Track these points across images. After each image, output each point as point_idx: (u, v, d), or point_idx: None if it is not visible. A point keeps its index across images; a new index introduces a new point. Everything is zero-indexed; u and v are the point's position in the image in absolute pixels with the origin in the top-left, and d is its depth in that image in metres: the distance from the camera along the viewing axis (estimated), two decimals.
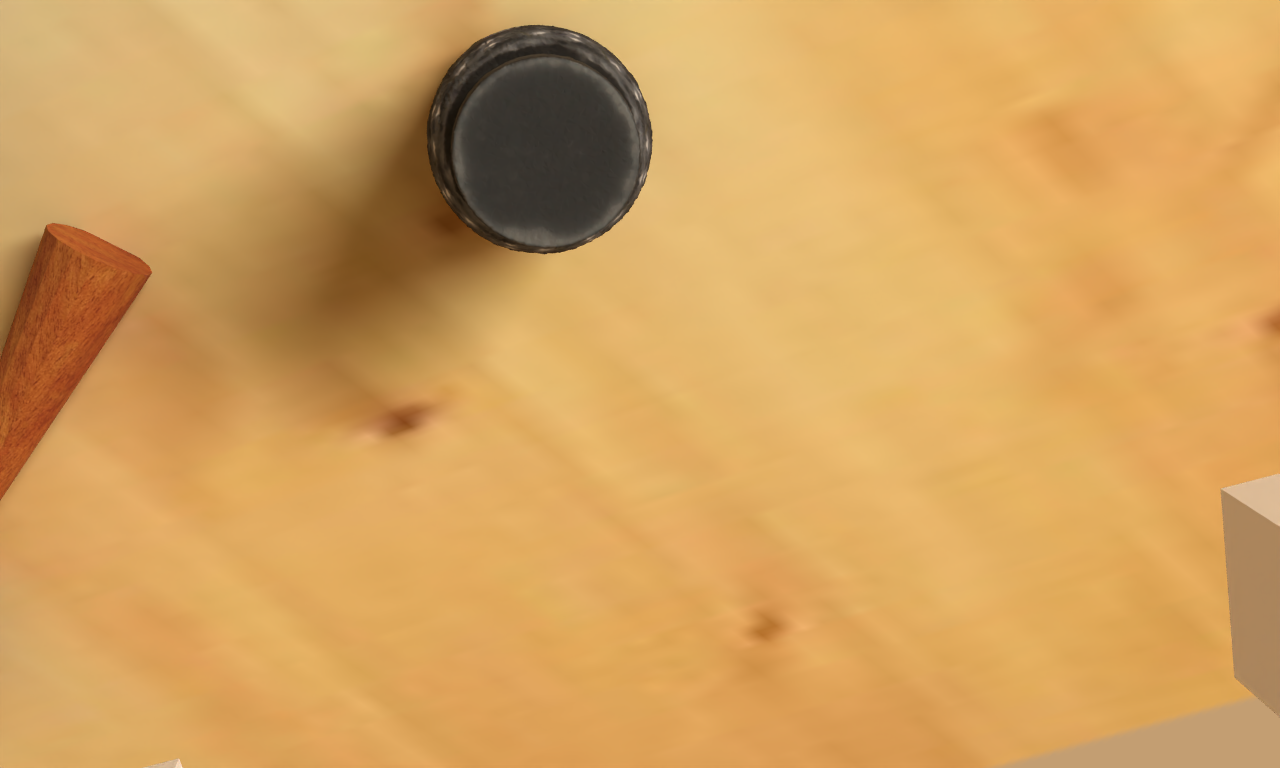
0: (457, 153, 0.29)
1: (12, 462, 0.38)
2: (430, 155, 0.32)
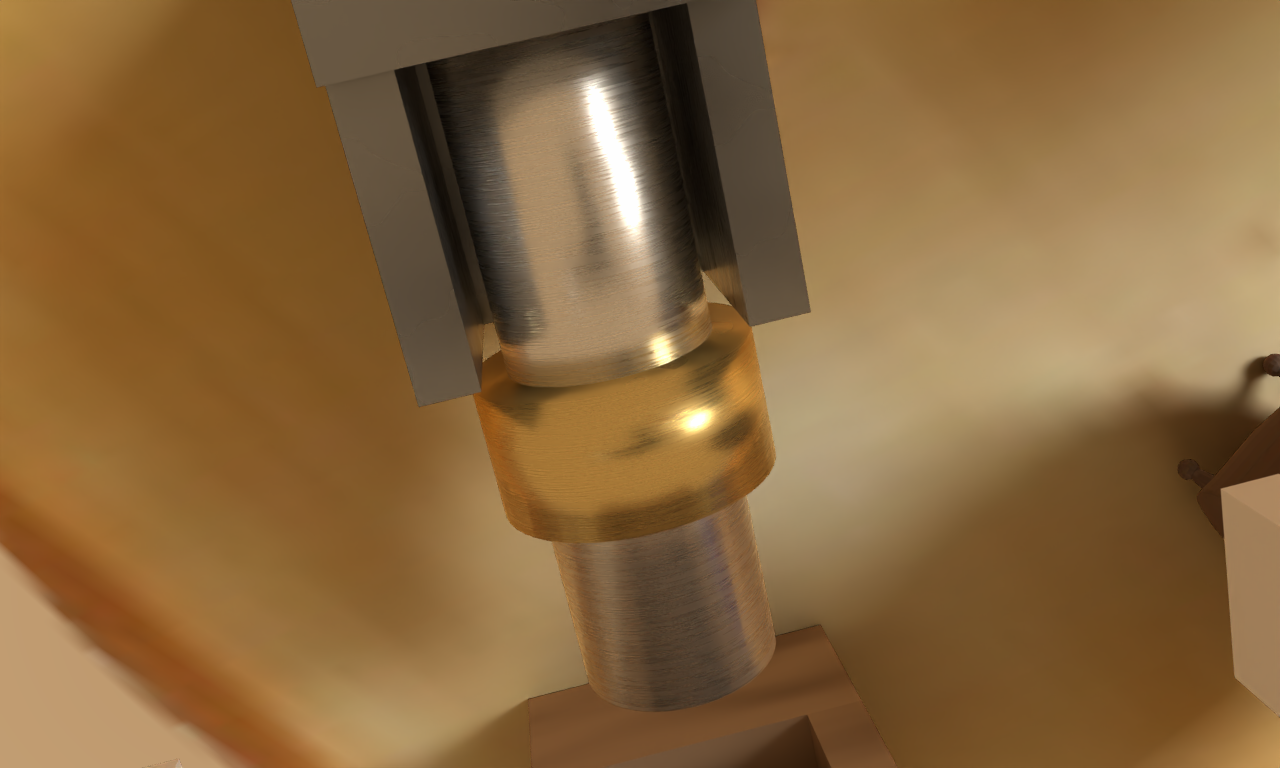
0: None
1: None
2: None
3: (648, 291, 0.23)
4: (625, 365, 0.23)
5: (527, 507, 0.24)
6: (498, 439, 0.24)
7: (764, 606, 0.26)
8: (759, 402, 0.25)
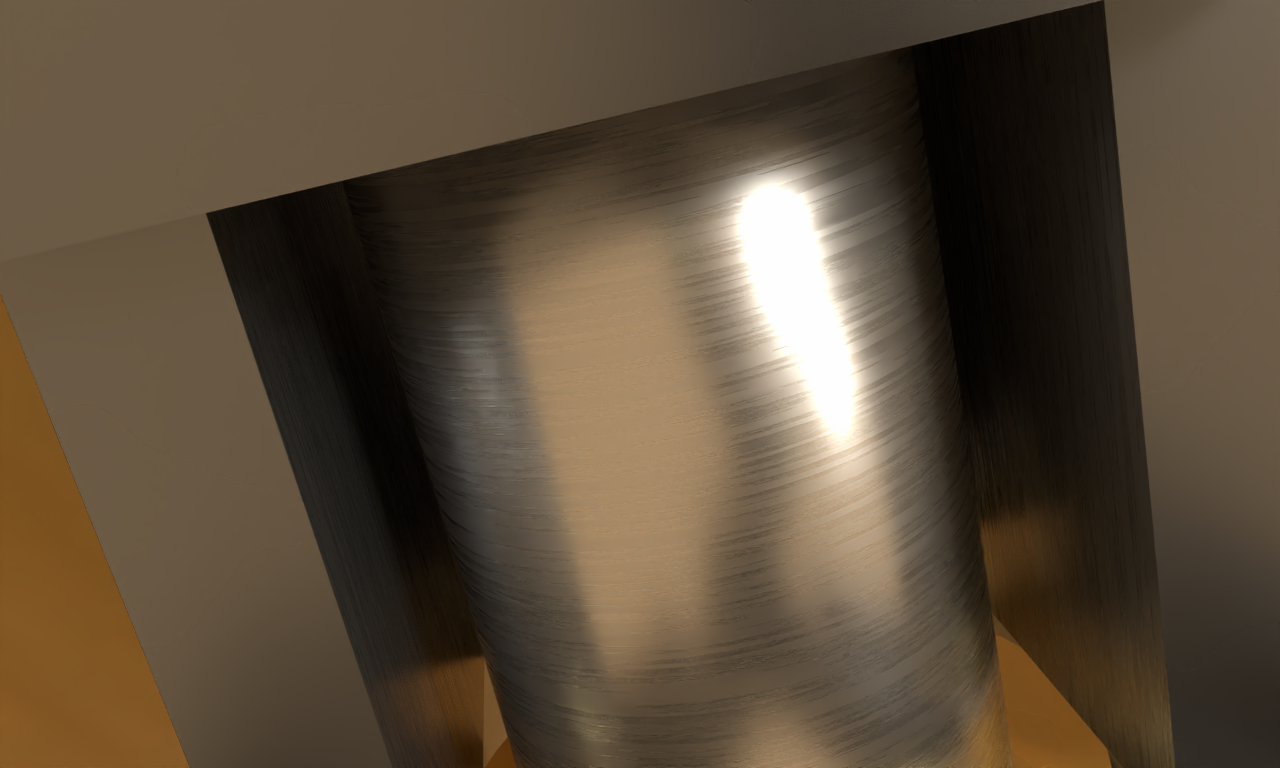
0: None
1: None
2: None
3: (911, 735, 0.09)
4: None
5: None
6: None
7: None
8: None
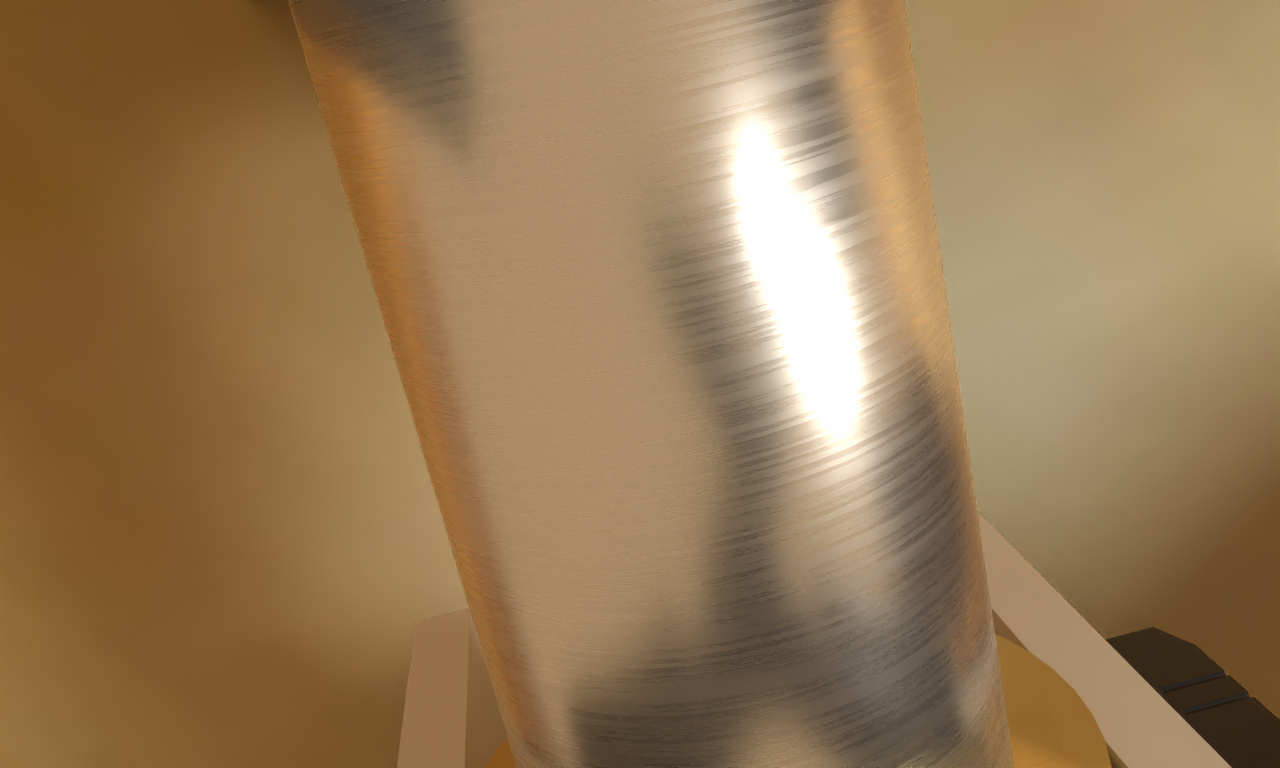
0: None
1: None
2: None
3: (911, 735, 0.09)
4: None
5: None
6: None
7: None
8: None
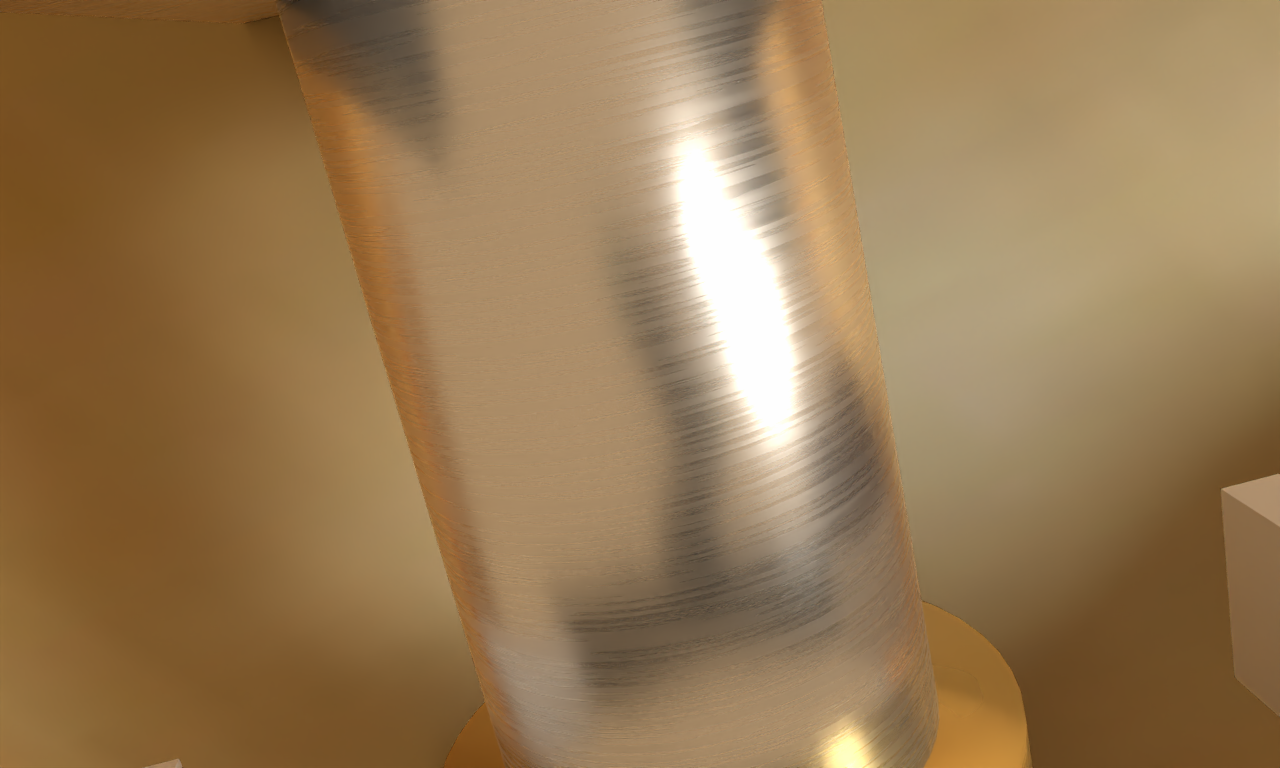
0: None
1: None
2: None
3: (838, 680, 0.10)
4: None
5: None
6: None
7: None
8: None
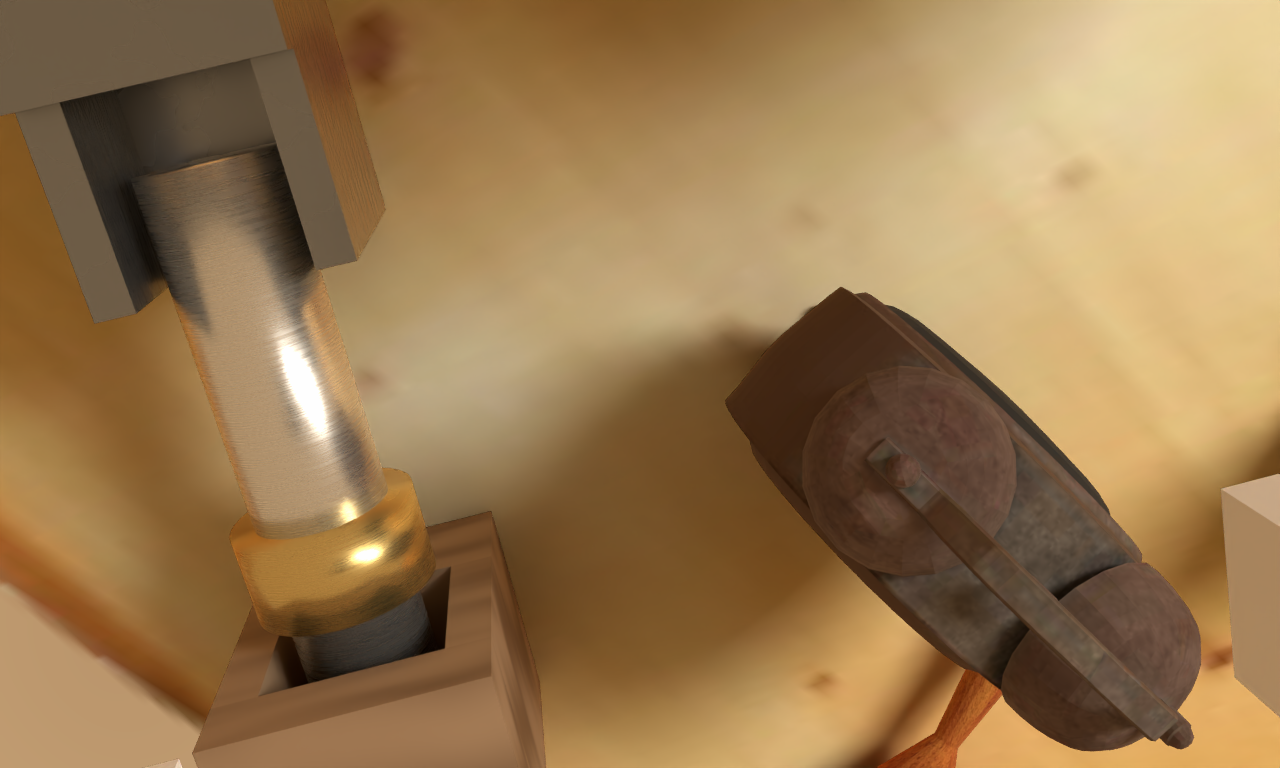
0: None
1: (999, 696, 0.50)
2: None
3: (328, 481, 0.37)
4: (315, 527, 0.37)
5: (262, 613, 0.38)
6: (242, 570, 0.38)
7: None
8: (413, 544, 0.38)
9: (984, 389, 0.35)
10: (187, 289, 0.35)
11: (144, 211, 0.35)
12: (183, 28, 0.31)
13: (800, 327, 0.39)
